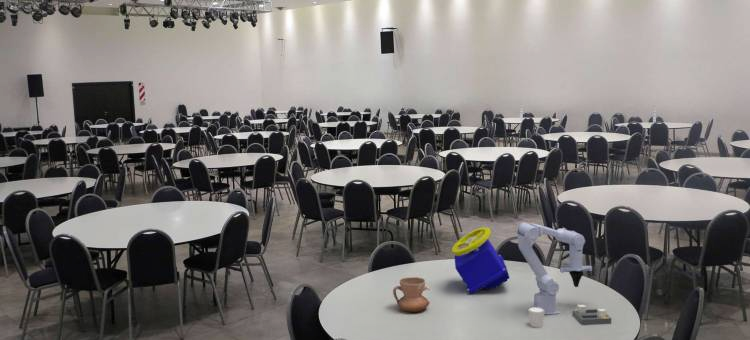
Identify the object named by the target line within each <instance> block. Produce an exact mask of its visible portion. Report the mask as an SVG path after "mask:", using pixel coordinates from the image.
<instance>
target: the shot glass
mask: <svg viewBox="0 0 750 340" xmlns="http://www.w3.org/2000/svg"><path fill="white" fill-rule="evenodd" d="M544 317H545V314H544V309H543V308H539V307H534V306H532V307H529V308H528V320H529V326H531V327H532V328H542V327H543V326H544Z"/></svg>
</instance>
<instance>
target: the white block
mask: <svg viewBox="0 0 750 340" xmlns="http://www.w3.org/2000/svg"><path fill="white" fill-rule="evenodd" d="M576 310H577V313H578V314H581V313H586V310H587V306H586V305H585V304H577V305H576Z"/></svg>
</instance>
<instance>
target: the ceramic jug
mask: <svg viewBox="0 0 750 340" xmlns="http://www.w3.org/2000/svg"><path fill="white" fill-rule="evenodd" d="M397 290H399V291H401V292H402V294H403V295H402V297H400V299H399V298H398V295H397ZM426 290H428V291H430V290H431V286H428V285H427V286H426V279H425V278H423V277H419V276H414V277H412V276H411V277H404V278H400V279H399V285H396V286H394V287H393V289H392V294H393V297H394V299H395V300H396V304H397V306H398V308H400V309H401V310H403V311H405V312H408V313H418V312H421V311H424V310H426V309H427V308H428V307H429V305H430V302H431V301H430V300H428V298H427V297H425V296H424V295H423V292H424V291H426Z"/></svg>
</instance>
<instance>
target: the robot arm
mask: <svg viewBox="0 0 750 340" xmlns="http://www.w3.org/2000/svg"><path fill="white" fill-rule="evenodd" d="M515 232H516V233H515V234H516V235H517V245H518V249H519V251H520V252H521V254H522V255H523V257H524V259H525V261H526V262H527V264H528V266H529V268H530V269H531V270H532V272H533V273H534V276H535V278H534V279H535V281H536V285H537V288H538V289H539V292H536V293H534V294H533V295H534V296H533V307H539V308H543V309H544V315H555V314H556V315H558V314H560V313H559V311H558V310H557V308H556V303H557V302H556V301H557V298H556V296H557V293H558V292H559V290H560V285H559V284H558V282H556V281H555V280H554V279H553V278H552V276H550V275H549V273H548V272H547V271H546V268H545V267H544V266H543V263H542V262H541V260H540V258H539V257H538V255H537V254H536V251H535V250H534V248H533V245H535V242H536V241H537V240H538V238H539V237H542V236H543V235H546V236H550V237H554V239H555V240H556V241H559V242H561V243H566V244H568V245H569V266H568V265H567V266H562V267H560V268H559V272H560V273H561V274H563V273H569V275H570V278H571V279H572V280H571V281H572V283H573V286H574V287H575V288H579V284H580V282H581V278H582V277H583V276H584V272H586V271H587V272H588V271H590V272H592V271H593V266H592V265H583V248H584V245H585V243H586V239H585V237H584V235H583V234H580V233H578V232H576V231H575V230H568V229H567V228H565V227H562V228H557V229H555V228H550V227H548V226H544V225H541V224H538V223H537V224H536V223H533V222H529V223H528V222H526V221H523V222H520V223H519V224H518V225H517V229H516V231H515Z"/></svg>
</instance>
